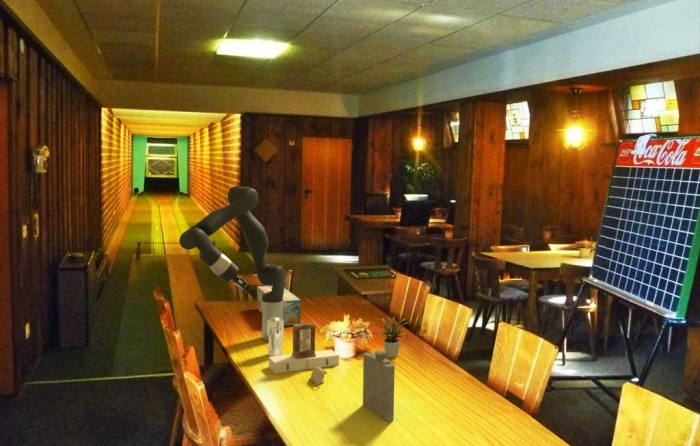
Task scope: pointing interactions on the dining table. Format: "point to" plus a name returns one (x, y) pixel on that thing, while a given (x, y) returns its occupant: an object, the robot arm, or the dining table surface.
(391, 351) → the house plant
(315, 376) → the decorative ornament
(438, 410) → the dining table surface
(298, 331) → the picture frame
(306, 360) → the picture ledge
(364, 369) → the hip flask
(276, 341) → the beer glass
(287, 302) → the soda box
